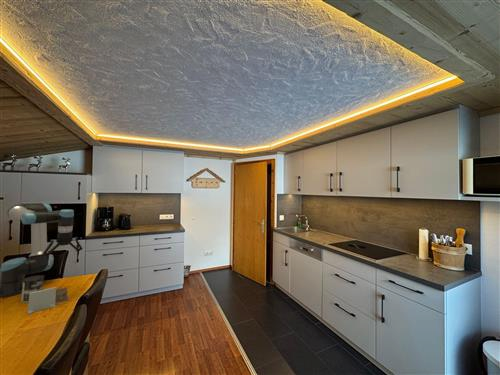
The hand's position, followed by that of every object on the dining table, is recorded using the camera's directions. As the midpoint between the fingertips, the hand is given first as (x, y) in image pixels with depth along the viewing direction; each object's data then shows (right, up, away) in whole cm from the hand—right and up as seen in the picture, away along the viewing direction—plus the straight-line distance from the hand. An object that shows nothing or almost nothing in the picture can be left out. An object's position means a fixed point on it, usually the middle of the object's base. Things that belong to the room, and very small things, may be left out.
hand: (62, 262), depth 140 cm
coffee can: (-20, -25, -1) cm, 32 cm away
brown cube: (-1, -25, -1) cm, 25 cm away
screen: (-2, -26, -12) cm, 28 cm away
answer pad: (-1, -26, -1) cm, 26 cm away
